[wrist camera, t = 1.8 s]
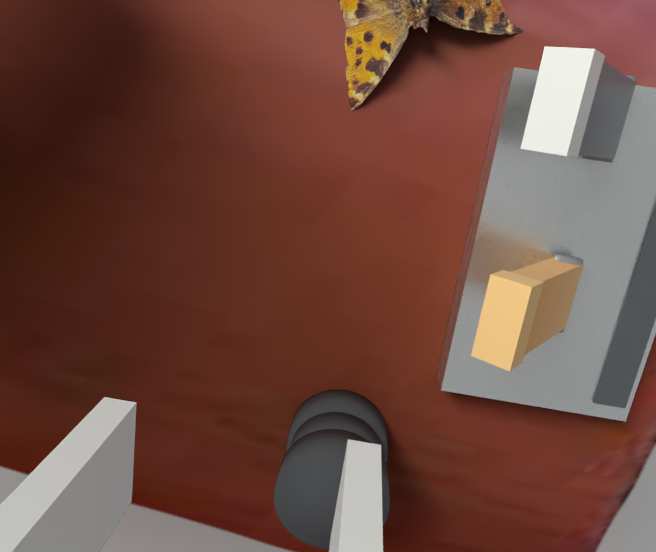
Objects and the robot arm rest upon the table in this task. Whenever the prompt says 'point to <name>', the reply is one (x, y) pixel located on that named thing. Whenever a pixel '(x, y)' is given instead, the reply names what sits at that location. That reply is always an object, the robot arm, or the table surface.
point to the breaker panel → (571, 239)
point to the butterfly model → (404, 32)
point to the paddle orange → (525, 309)
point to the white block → (578, 105)
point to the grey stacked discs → (324, 461)
